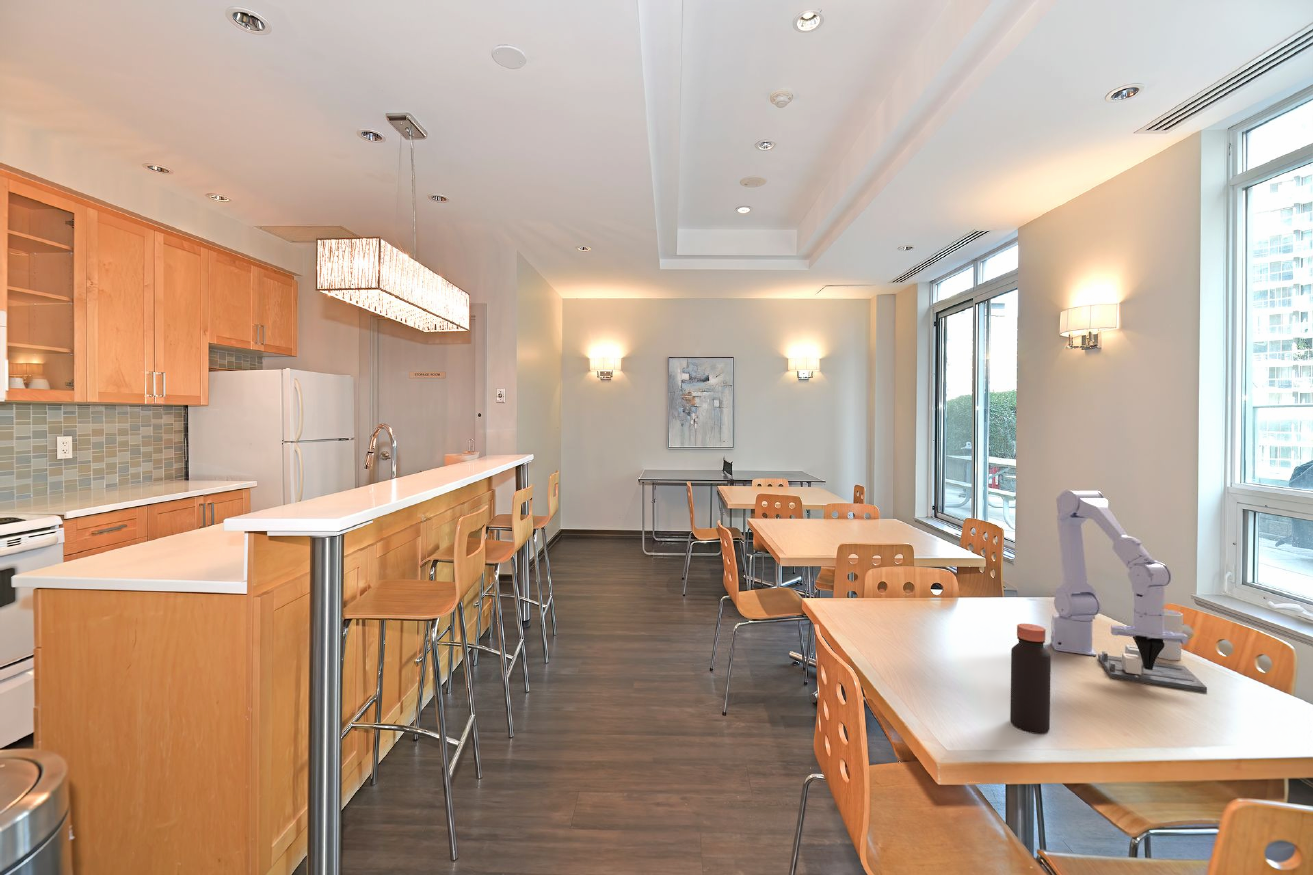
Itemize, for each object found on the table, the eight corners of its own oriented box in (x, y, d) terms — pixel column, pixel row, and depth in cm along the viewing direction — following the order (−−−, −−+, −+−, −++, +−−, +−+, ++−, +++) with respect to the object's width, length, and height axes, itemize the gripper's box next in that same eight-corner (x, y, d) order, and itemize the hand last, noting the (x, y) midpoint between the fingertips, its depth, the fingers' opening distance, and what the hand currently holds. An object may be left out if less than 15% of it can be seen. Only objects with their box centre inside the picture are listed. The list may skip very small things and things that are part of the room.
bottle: (1035, 718, 127) (1036, 621, 127) (1057, 734, 120) (1059, 632, 120) (1003, 718, 127) (1004, 621, 127) (1023, 734, 120) (1025, 632, 120)
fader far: (1129, 663, 156) (1129, 649, 156) (1125, 658, 159) (1125, 644, 159) (1143, 665, 154) (1144, 650, 154) (1139, 660, 158) (1139, 646, 158)
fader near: (1126, 672, 149) (1126, 657, 149) (1121, 666, 153) (1122, 652, 153) (1141, 674, 148) (1141, 659, 148) (1136, 668, 152) (1137, 654, 152)
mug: (1185, 662, 161) (1186, 616, 161) (1153, 658, 164) (1154, 613, 164) (1173, 650, 170) (1174, 607, 170) (1143, 646, 173) (1144, 604, 173)
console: (1111, 678, 149) (1111, 666, 149) (1097, 658, 163) (1098, 647, 163) (1207, 692, 142) (1207, 680, 142) (1184, 670, 155) (1184, 659, 155)
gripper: (1116, 612, 149) (1115, 668, 149) (1192, 621, 142) (1191, 679, 142) (1109, 605, 155) (1108, 659, 155) (1182, 613, 149) (1181, 669, 149)
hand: (1147, 668), depth 149 cm, fingers closed
